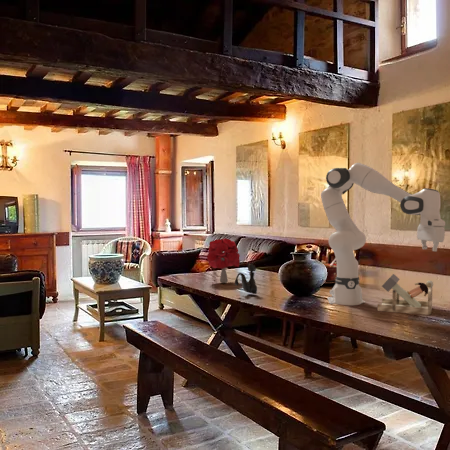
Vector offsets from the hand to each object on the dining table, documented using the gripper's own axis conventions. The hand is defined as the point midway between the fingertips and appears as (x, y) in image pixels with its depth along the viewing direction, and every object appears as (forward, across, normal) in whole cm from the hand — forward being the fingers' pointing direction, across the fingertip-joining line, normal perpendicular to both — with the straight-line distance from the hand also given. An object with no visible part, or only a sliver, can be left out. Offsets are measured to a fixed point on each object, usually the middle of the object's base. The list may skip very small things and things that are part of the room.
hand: (429, 250), depth 238 cm
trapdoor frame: (+29, -4, -14) cm, 33 cm away
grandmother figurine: (+23, -3, -8) cm, 25 cm away
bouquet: (+32, -102, -92) cm, 141 cm away
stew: (+31, -88, -24) cm, 96 cm away
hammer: (+19, -4, -15) cm, 25 cm away
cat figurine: (+31, -55, -83) cm, 104 cm away
